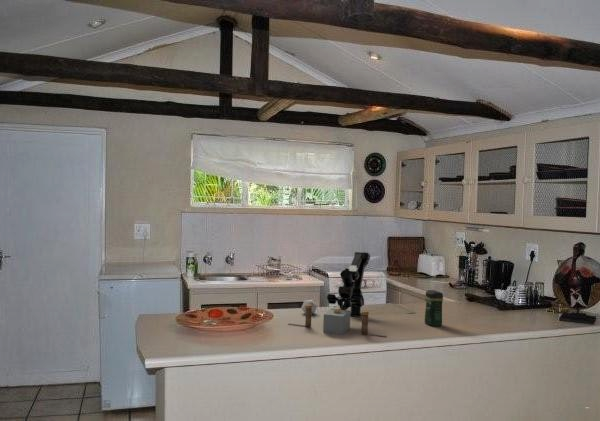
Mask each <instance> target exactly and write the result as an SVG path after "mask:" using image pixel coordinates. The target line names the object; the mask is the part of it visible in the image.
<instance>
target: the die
mask: <svg viewBox="0 0 600 421" xmlns="http://www.w3.org/2000/svg"><path fill="white" fill-rule="evenodd" d="M306 305H312V313H311V315H314V314H315V313H316V310H317V308H318V304H316V302H315V301H314V299H304V301H303V303H302V305H301V310H302V311H303V313H304V314H305V315H306V308H305V307H306Z"/></svg>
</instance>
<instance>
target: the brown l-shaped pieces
mask: <svg viewBox="0 0 600 421" xmlns="http://www.w3.org/2000/svg"><path fill="white" fill-rule="evenodd" d="M305 308H306V314H305V323H304V324H298V323H288V324H287V325H290V326H297V327H304V328H309V329H310V328H312V314H311V313H312V305H306V307H305ZM361 313H362V315H361V335H363V336H372V337H374V336H375V337H379V338H380V337H381V338H387V335H383V334H374V333H368V332H369V331H368V330H369V329H368V328H369V311H367V310H361Z"/></svg>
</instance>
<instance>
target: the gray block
mask: <svg viewBox="0 0 600 421" xmlns="http://www.w3.org/2000/svg"><path fill="white" fill-rule="evenodd" d="M350 313H351V310H350V309H349V310H348V309H346V310H341V308H340V307H334V308H331V309H329V310H328V311H326V312H324V313H323V320H322V321H323V324H322V326H323V327H322V328H323V329H322V330H323V331H322V332H323V333H329V334H336V335H344V334H345V333H346V332H347V331H348V330H349V329H350V328H351V315H350Z"/></svg>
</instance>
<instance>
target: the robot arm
mask: <svg viewBox="0 0 600 421" xmlns="http://www.w3.org/2000/svg"><path fill="white" fill-rule="evenodd" d="M370 260H371V254H369V252H367V251H365V252H364V251H355V252H354V255H353V259H352V261H351V264H350V266H349V267H347V268H345V269H344V270H342V271H341V272H340V274H339V275H340V278H341V281H342V284H343V286H341V285H339V287H338V289H337V290H338V291H337V292H338V293H339V294H338V296H337V295H336V294H333V293H328V294H327V296H326V299H327V303H329V304H330V305H331V304H332V305H335V304H336V303H337V305H338V306H339V308H341V310H348V309H349V308H350V316H355V317H362V310H361V308H363V306H365V299H364V295H363V292H362V283H363V280H364V278H363V277H364V273H365V268H366V266H367V265H368V264H369V261H370Z"/></svg>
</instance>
